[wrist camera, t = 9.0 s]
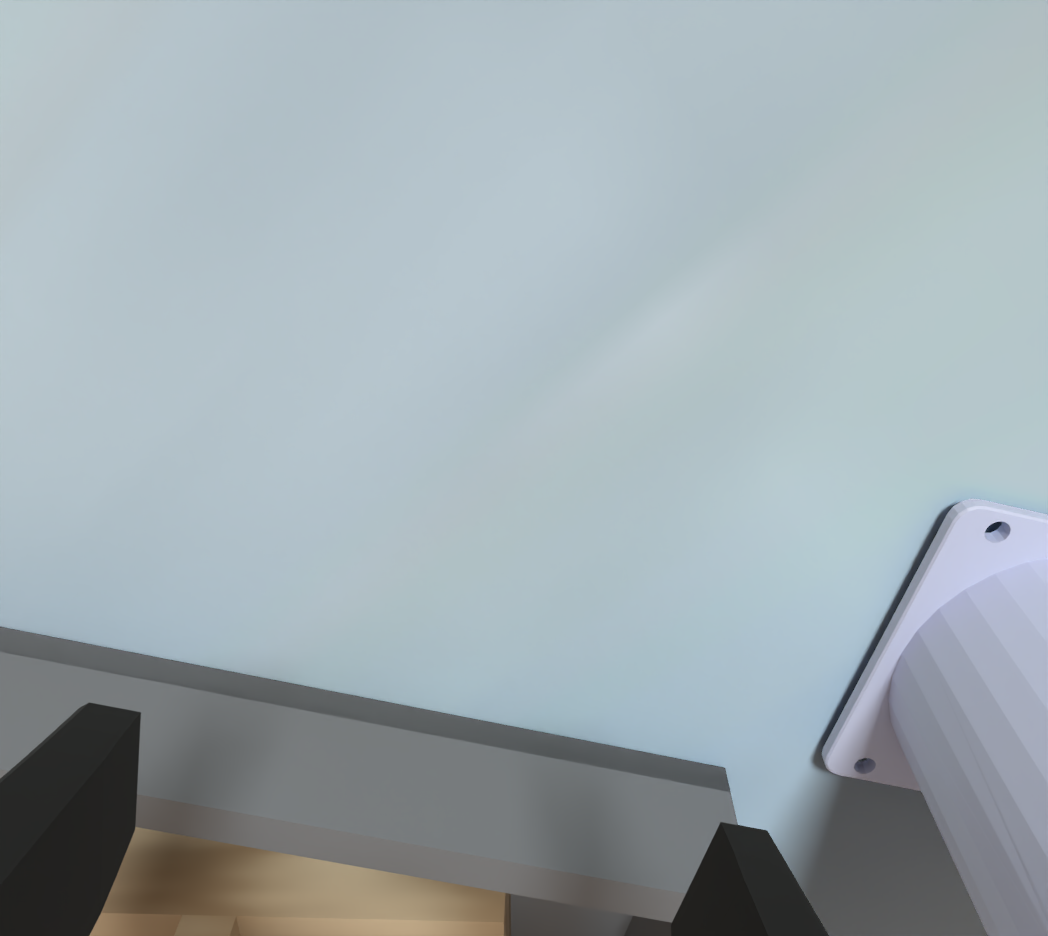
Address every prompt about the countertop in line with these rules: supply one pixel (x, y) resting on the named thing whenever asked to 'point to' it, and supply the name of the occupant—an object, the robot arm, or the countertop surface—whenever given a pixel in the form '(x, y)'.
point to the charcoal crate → (387, 785)
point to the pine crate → (282, 896)
